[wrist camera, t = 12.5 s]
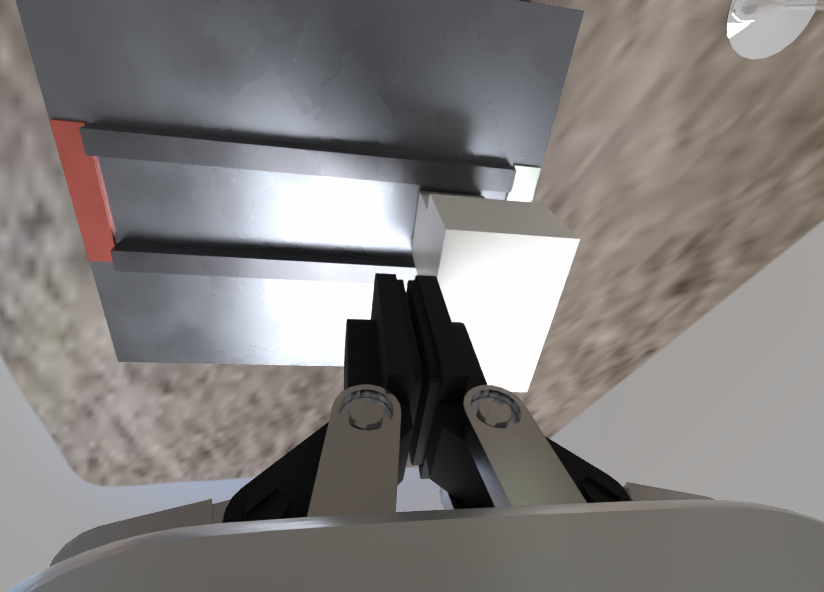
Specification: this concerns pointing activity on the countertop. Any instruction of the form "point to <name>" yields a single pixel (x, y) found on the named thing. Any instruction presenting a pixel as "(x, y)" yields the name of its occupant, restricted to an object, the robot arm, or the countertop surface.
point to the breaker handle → (496, 275)
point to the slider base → (281, 153)
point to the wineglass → (767, 24)
